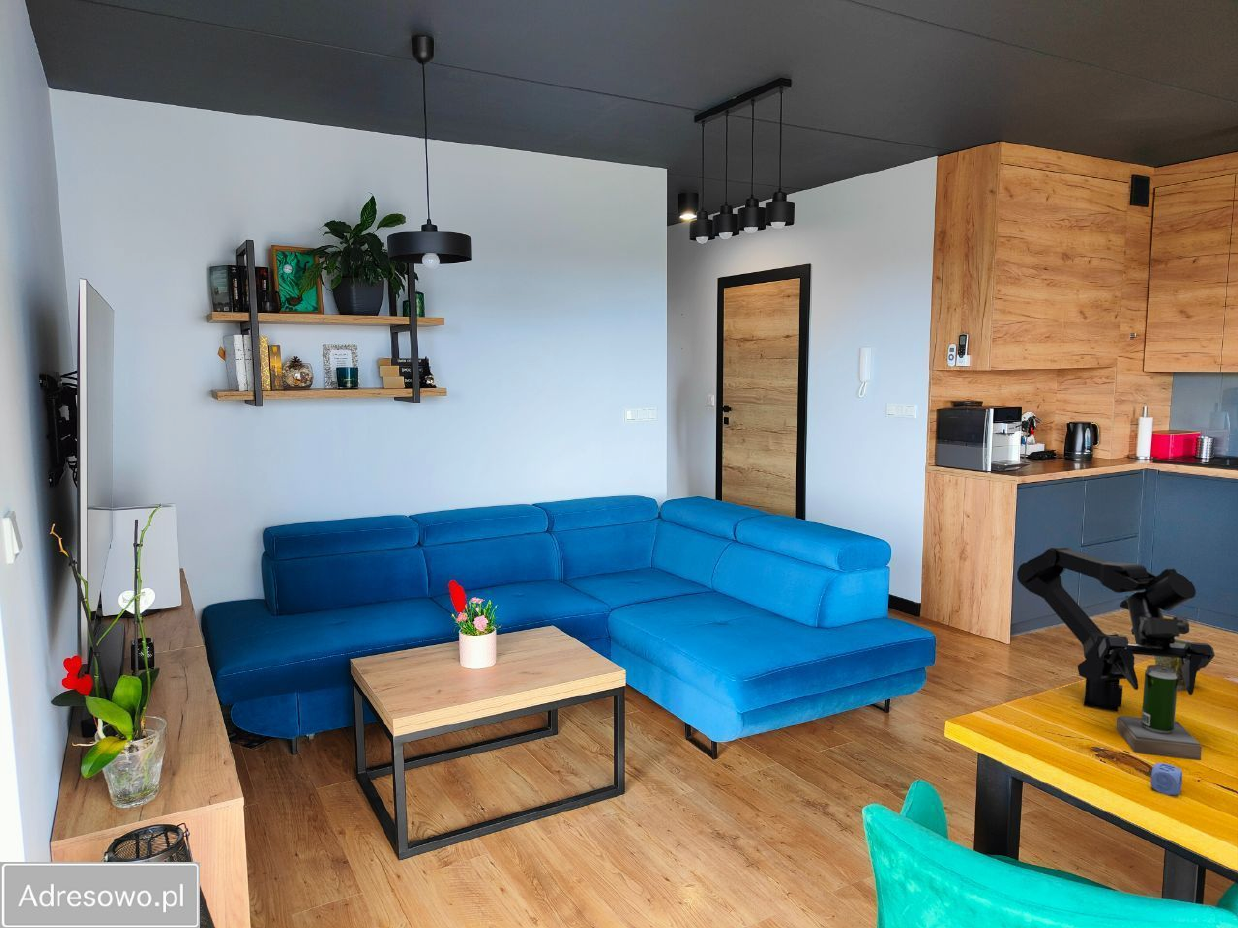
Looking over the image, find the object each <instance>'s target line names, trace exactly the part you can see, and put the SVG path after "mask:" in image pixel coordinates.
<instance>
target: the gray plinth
mask: <svg viewBox="0 0 1238 928" xmlns="http://www.w3.org/2000/svg"><path fill="white" fill-rule="evenodd" d="M1141 722H1142V717H1136V716H1135V717H1134V716H1126V715H1125V716H1123V715H1119V716H1116V727H1115V730H1116V731H1117V732H1118V733H1119V735H1120V736H1121V737H1122V738H1123V740H1124V741H1125V742H1126V744H1127V745H1128V746H1129V748H1130V749H1132V751H1133V752H1134V753H1137V754H1144V755H1145V754H1146V755H1153V756H1164V757H1170V758H1171V757H1173V758H1181V759H1190V760H1198V761H1201V760H1202V752H1203V746H1202V745H1201V743H1199V742H1198V741H1197V740H1196V738H1195V737H1194V736H1193V735H1192V734H1191V733H1190V732H1189V731H1188V730H1187V729H1186V728H1185V727H1184V726H1183V725H1182V724H1181V723H1180V722H1179V721H1175V724H1174V730H1173V731H1172V733H1170V734H1160V733H1155V732H1152V731H1149V730H1147V729H1145V728H1144V727H1143V725H1142V723H1141Z"/></svg>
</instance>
